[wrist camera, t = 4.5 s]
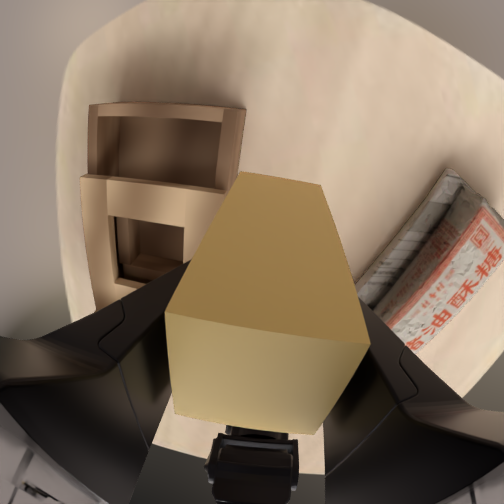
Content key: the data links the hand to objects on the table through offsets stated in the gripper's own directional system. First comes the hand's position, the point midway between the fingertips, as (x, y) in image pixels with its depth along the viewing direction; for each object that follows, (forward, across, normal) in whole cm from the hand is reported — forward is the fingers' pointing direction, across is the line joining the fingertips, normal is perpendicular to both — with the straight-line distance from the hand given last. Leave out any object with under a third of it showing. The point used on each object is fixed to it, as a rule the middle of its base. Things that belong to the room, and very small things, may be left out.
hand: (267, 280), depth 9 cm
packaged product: (+14, -14, +7) cm, 21 cm away
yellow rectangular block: (+5, 0, 0) cm, 5 cm away
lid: (+9, +8, +7) cm, 14 cm away
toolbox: (+14, +8, +5) cm, 17 cm away
